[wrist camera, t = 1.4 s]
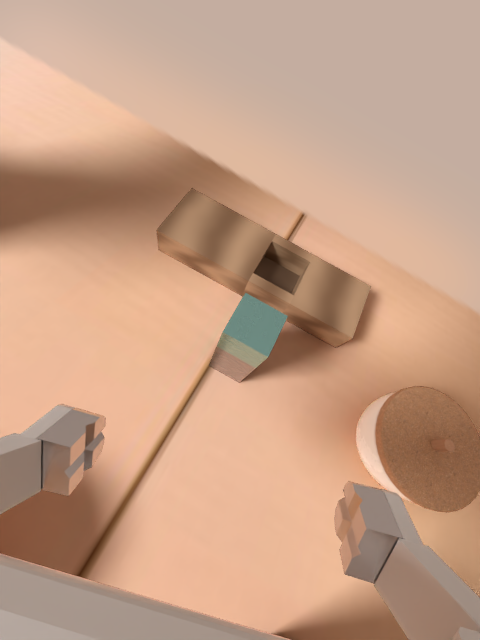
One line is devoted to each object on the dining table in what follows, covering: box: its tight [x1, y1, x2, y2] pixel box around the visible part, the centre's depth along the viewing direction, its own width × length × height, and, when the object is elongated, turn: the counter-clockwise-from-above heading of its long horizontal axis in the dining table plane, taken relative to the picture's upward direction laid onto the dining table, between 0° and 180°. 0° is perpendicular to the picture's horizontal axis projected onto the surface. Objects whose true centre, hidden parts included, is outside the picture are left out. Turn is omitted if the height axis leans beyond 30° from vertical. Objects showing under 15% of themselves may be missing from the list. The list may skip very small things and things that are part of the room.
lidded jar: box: [356, 386, 480, 512], centre depth 30 cm, size 11×11×9 cm
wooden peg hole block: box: [157, 188, 371, 348], centre depth 37 cm, size 26×8×4 cm, turn 63°
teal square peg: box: [209, 293, 288, 383], centre depth 29 cm, size 4×4×12 cm
